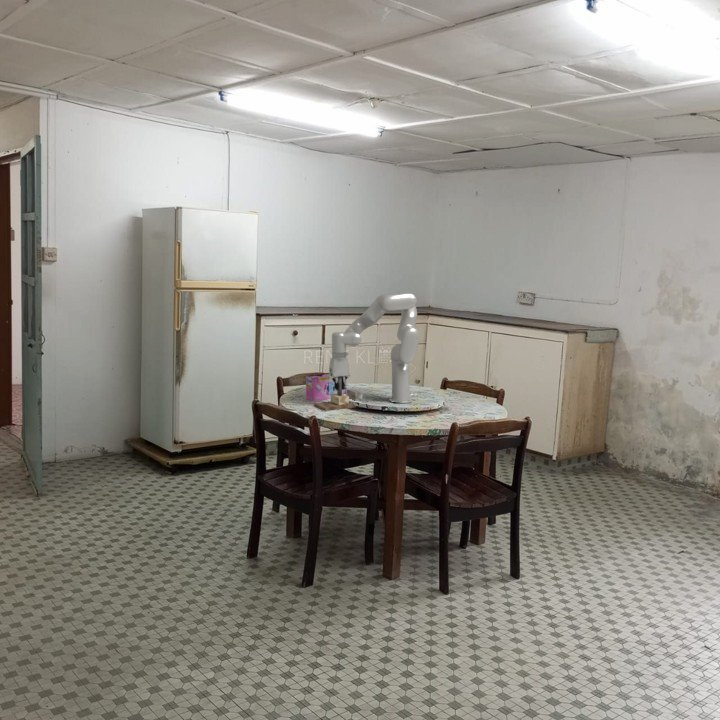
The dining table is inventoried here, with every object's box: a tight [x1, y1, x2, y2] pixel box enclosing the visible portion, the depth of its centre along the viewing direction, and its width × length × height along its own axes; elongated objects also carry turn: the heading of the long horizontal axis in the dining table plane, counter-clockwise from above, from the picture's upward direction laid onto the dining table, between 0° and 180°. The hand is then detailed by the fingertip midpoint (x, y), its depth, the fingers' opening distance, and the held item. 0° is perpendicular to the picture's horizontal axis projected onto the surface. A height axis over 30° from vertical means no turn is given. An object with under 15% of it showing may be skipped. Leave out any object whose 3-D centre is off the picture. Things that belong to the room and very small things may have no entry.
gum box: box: [305, 372, 347, 402], centre depth 413 cm, size 24×8×14 cm, turn 124°
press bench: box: [313, 388, 363, 412], centre depth 391 cm, size 24×14×8 cm, turn 119°
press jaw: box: [330, 377, 349, 405], centre depth 390 cm, size 6×10×16 cm, turn 29°
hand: (339, 389), depth 390 cm, fingers closed on press jaw, 2 cm apart
